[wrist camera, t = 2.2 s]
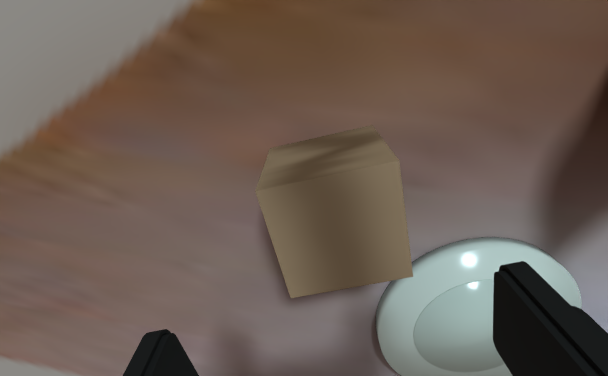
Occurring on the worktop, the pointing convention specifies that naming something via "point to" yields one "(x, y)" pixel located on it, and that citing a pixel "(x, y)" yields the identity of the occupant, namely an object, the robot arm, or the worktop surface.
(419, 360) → the dish
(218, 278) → the worktop surface
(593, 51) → the worktop surface
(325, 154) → the walnut block
